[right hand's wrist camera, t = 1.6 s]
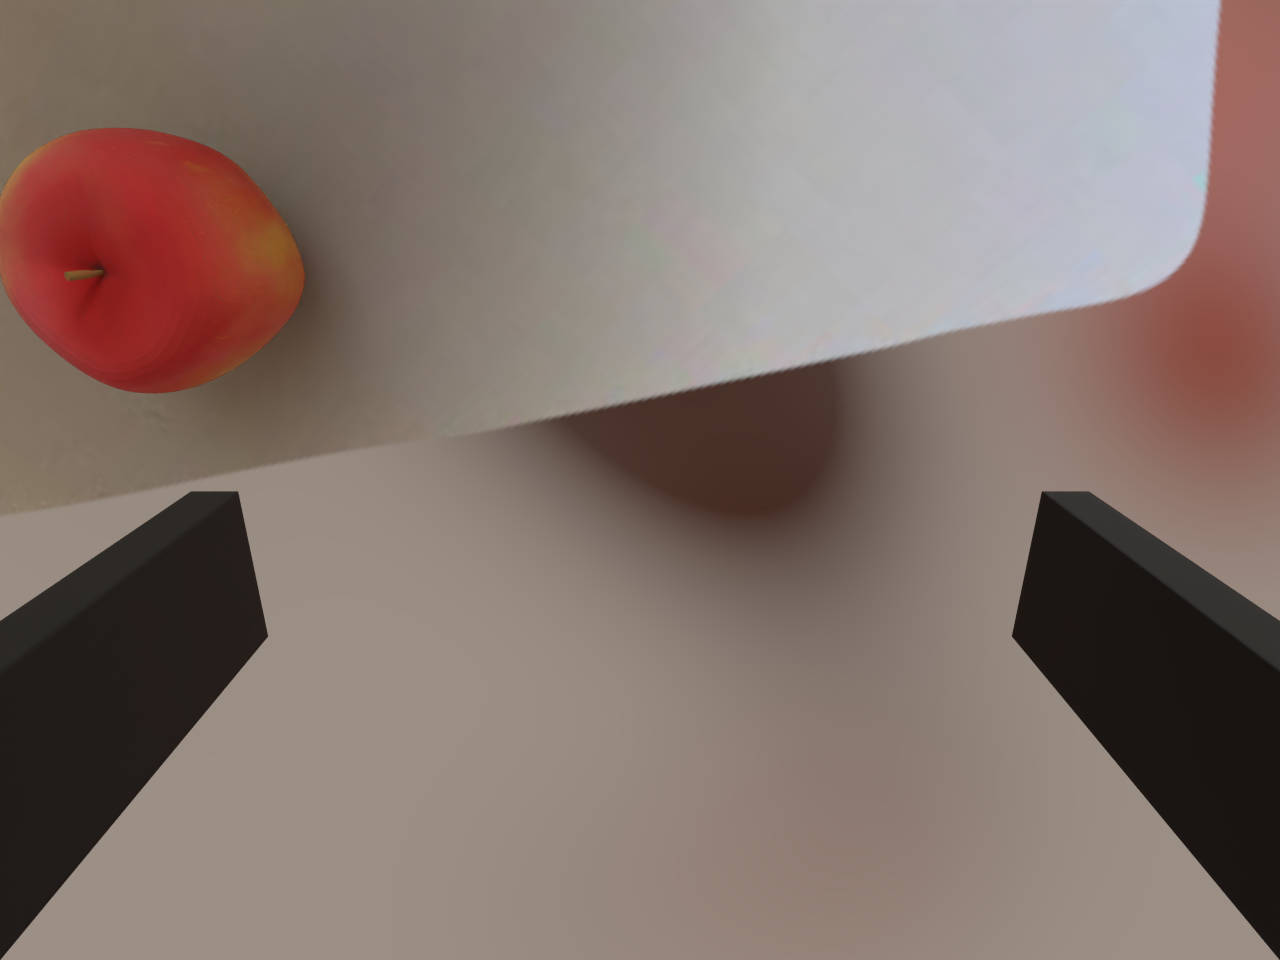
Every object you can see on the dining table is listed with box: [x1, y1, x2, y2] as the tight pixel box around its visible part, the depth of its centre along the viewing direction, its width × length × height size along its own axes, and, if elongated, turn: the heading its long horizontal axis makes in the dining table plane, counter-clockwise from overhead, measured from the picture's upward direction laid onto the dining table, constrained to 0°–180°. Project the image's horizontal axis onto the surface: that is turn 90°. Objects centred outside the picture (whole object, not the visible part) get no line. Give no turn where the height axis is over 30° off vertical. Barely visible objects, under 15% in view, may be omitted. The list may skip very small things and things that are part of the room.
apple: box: [0, 128, 305, 393], centre depth 29 cm, size 10×10×10 cm
